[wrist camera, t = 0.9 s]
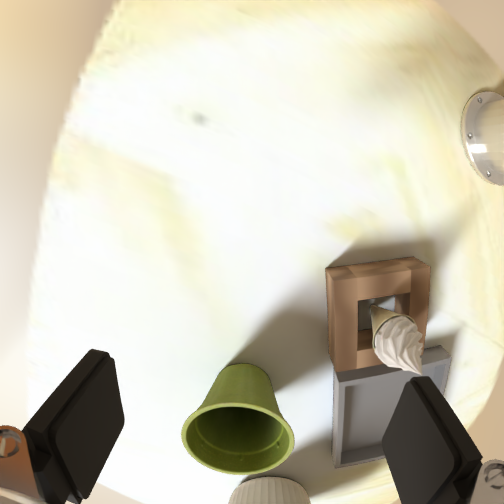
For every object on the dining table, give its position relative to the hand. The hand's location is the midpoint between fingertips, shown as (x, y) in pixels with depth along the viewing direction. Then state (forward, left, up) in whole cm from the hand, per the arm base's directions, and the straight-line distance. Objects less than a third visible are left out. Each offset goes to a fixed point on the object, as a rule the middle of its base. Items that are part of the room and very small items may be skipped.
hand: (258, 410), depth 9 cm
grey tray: (-15, +27, -27) cm, 41 cm away
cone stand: (-12, +10, -27) cm, 32 cm away
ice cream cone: (-12, +10, -27) cm, 32 cm away
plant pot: (+5, +19, -28) cm, 34 cm away
